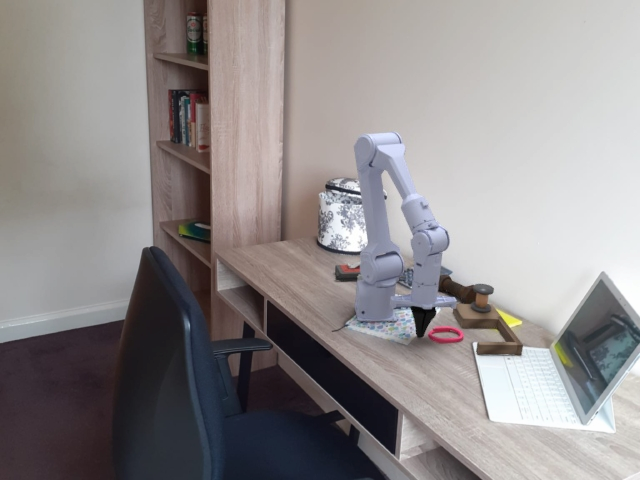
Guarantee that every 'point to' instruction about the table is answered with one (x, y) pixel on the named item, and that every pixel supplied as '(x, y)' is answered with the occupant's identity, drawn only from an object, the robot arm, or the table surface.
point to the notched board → (489, 320)
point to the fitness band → (445, 340)
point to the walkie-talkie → (350, 272)
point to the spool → (482, 298)
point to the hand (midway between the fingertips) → (419, 335)
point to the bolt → (457, 289)
